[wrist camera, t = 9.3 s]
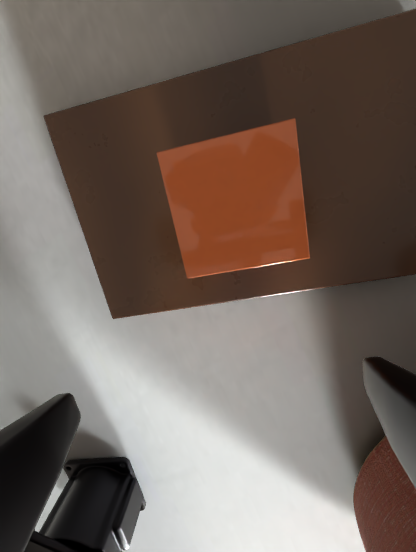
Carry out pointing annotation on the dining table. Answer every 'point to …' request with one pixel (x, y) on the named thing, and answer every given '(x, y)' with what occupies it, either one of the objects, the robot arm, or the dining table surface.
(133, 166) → the board
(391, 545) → the planter
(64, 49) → the dining table surface
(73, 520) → the robot arm
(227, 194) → the terracotta block
